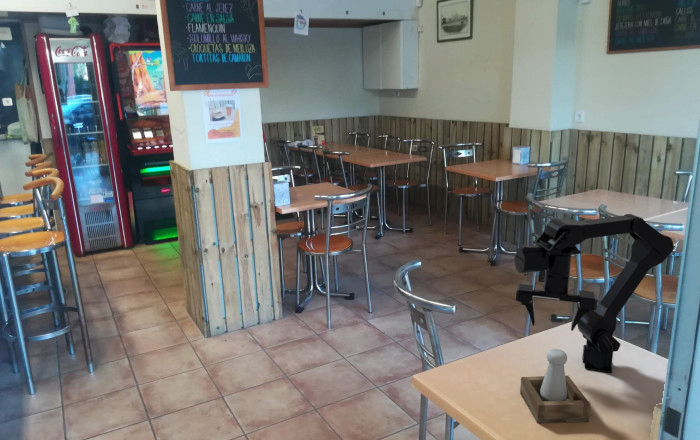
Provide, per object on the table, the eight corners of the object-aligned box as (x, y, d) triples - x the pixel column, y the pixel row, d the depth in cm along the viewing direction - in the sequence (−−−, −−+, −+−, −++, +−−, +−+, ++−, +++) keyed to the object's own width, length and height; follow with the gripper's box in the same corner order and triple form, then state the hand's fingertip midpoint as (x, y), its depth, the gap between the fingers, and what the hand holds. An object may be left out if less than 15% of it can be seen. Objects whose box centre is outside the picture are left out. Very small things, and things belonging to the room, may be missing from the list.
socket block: (566, 391, 126) (568, 375, 125) (588, 421, 115) (590, 403, 114) (520, 393, 126) (521, 377, 125) (537, 423, 115) (538, 405, 114)
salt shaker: (568, 411, 117) (573, 359, 114) (541, 408, 118) (546, 357, 115) (563, 396, 123) (568, 346, 119) (537, 393, 124) (541, 344, 120)
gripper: (596, 263, 133) (589, 319, 137) (519, 256, 139) (516, 309, 143) (600, 278, 123) (593, 338, 127) (517, 270, 129) (513, 327, 133)
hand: (552, 327), depth 133 cm, fingers open, 9 cm apart
